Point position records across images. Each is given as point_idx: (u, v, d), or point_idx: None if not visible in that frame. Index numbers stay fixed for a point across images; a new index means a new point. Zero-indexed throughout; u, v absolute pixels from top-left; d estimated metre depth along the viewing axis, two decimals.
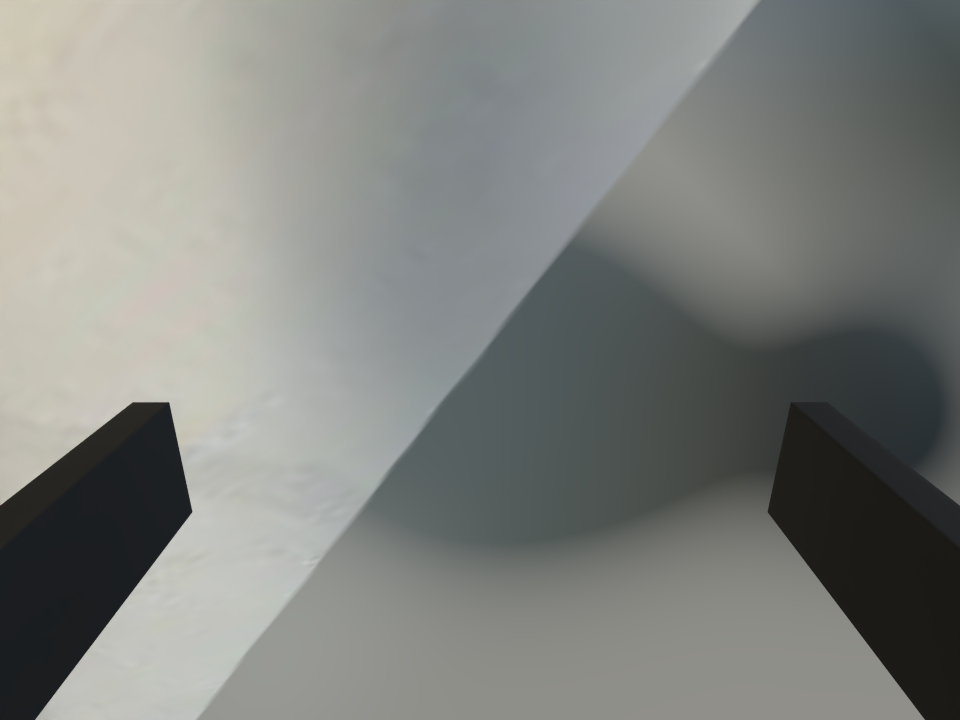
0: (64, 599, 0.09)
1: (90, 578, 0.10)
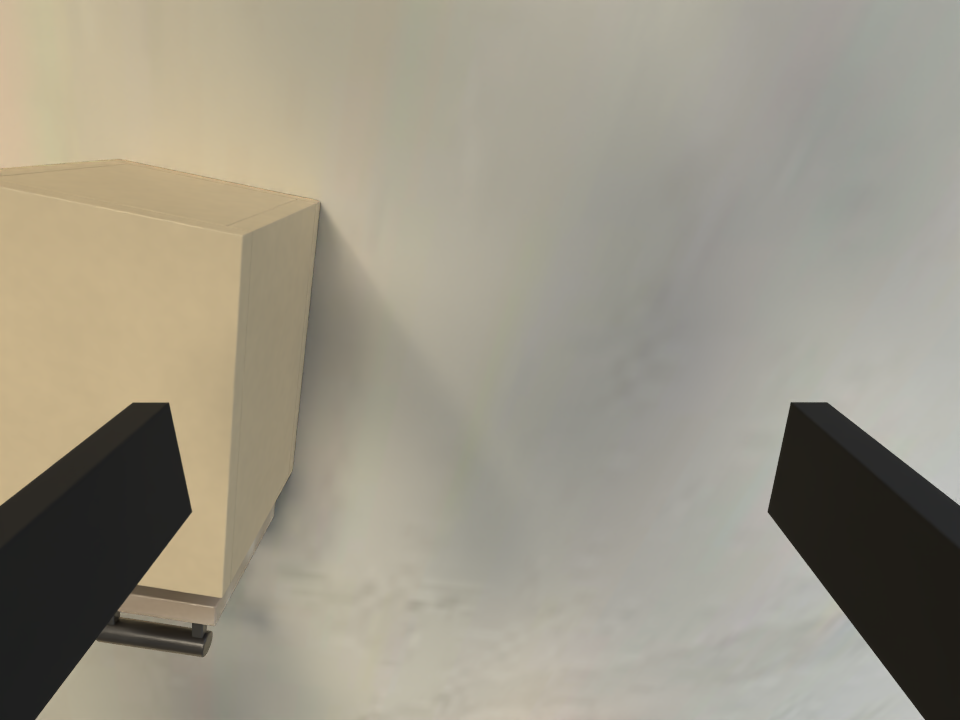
0: (64, 598, 0.09)
1: (90, 578, 0.10)
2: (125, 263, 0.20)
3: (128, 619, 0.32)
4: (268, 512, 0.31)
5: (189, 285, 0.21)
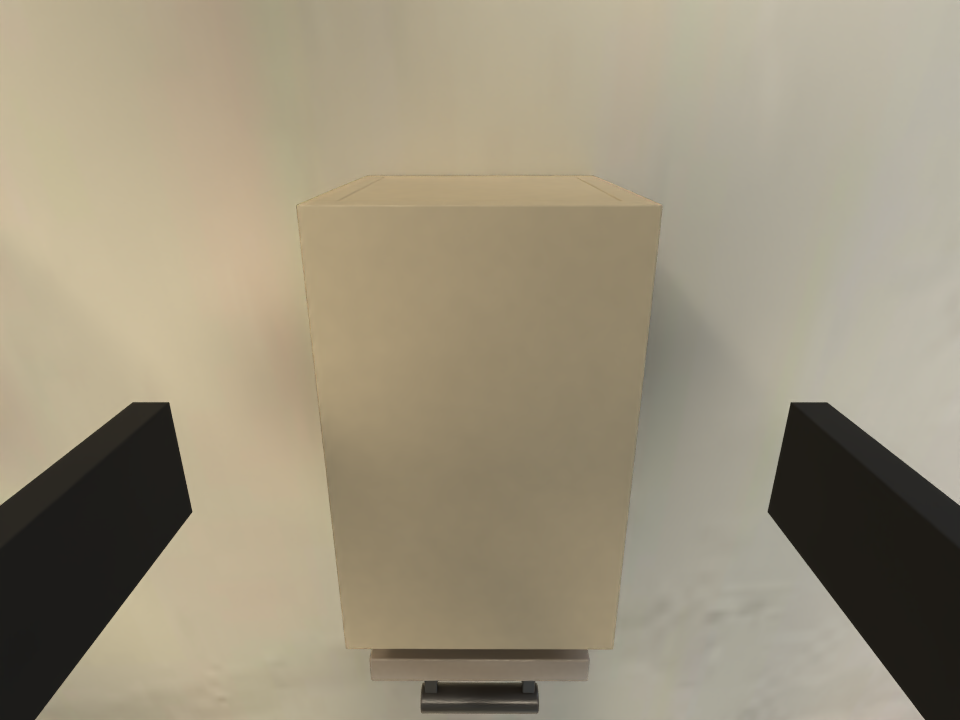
0: (65, 599, 0.09)
1: (90, 578, 0.10)
2: (516, 269, 0.17)
3: (446, 683, 0.29)
4: None
5: (593, 281, 0.17)
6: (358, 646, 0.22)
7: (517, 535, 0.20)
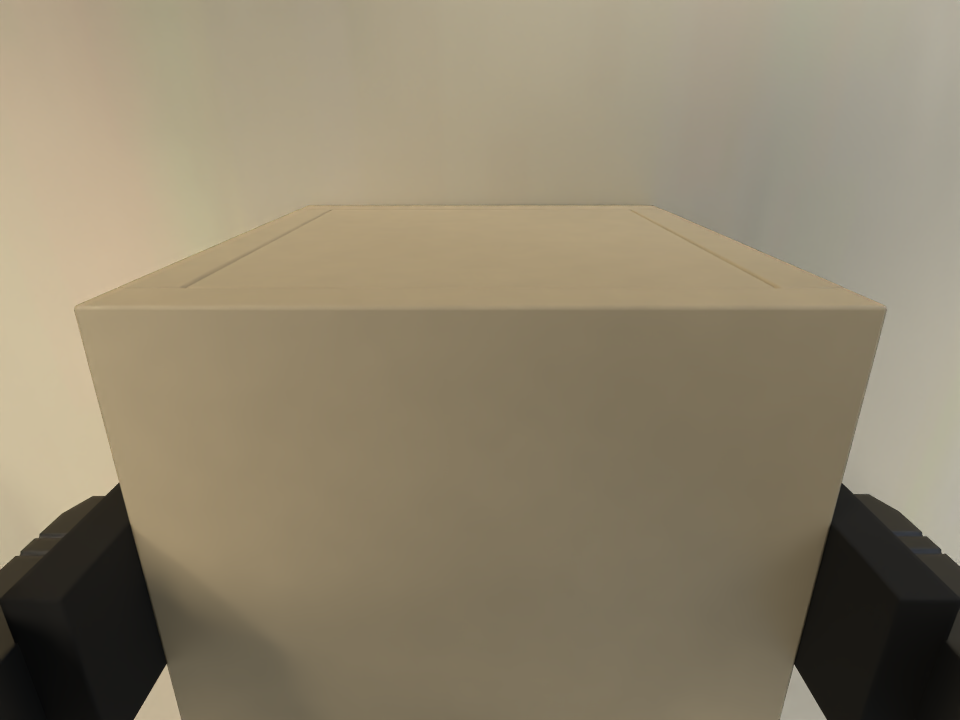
0: None
1: None
2: (559, 435, 0.08)
3: None
4: None
5: (720, 458, 0.08)
6: None
7: None
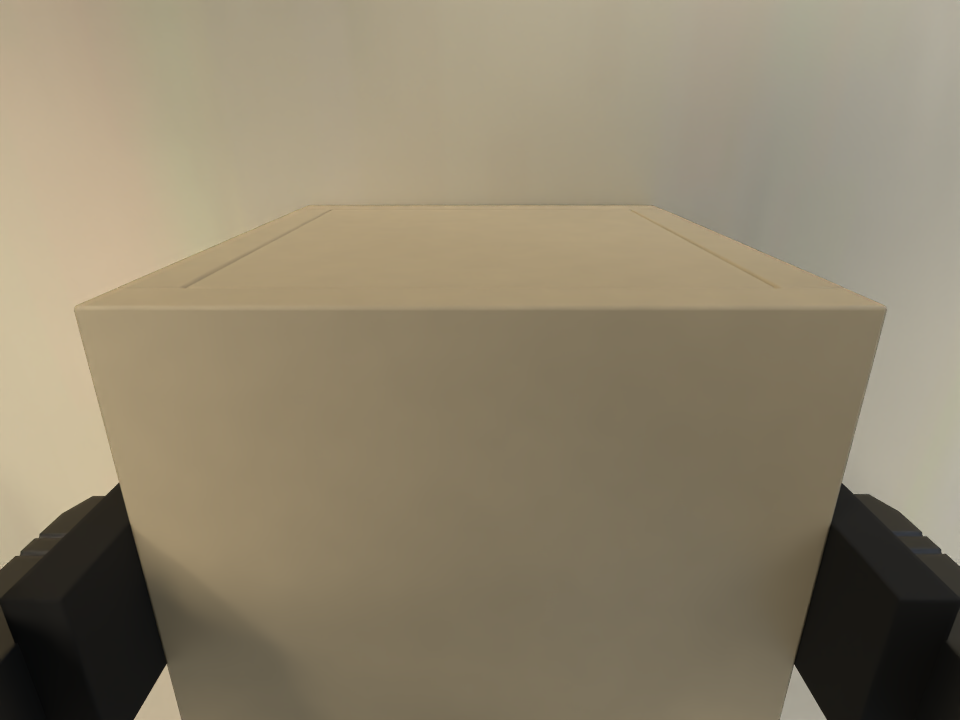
0: None
1: None
2: (558, 435, 0.08)
3: None
4: None
5: (719, 458, 0.08)
6: None
7: None
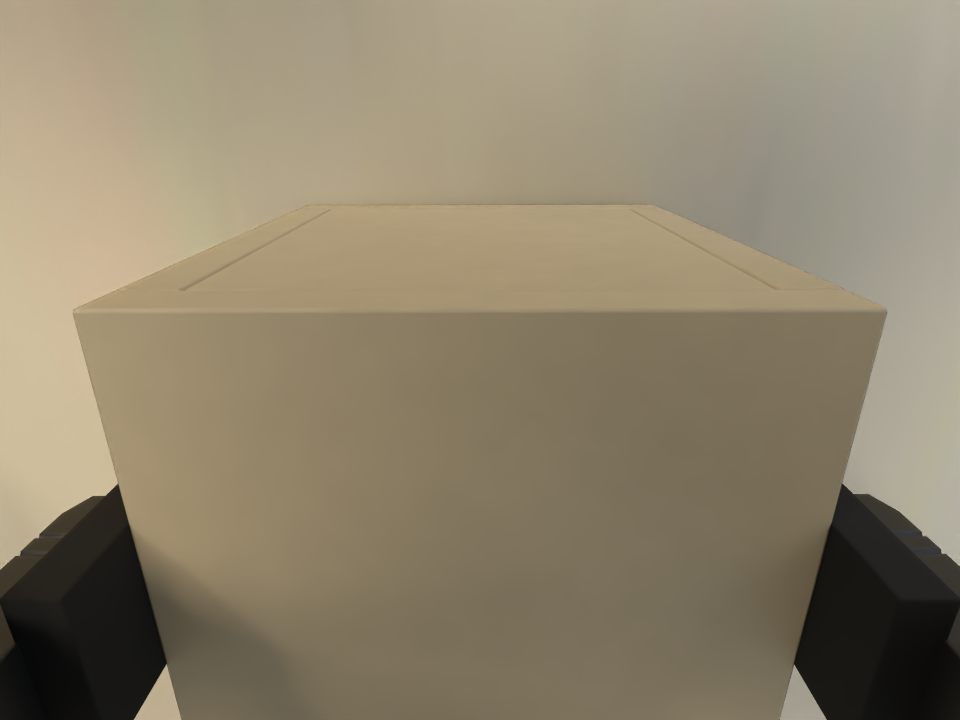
0: None
1: None
2: (559, 438, 0.08)
3: None
4: None
5: (719, 459, 0.08)
6: None
7: None
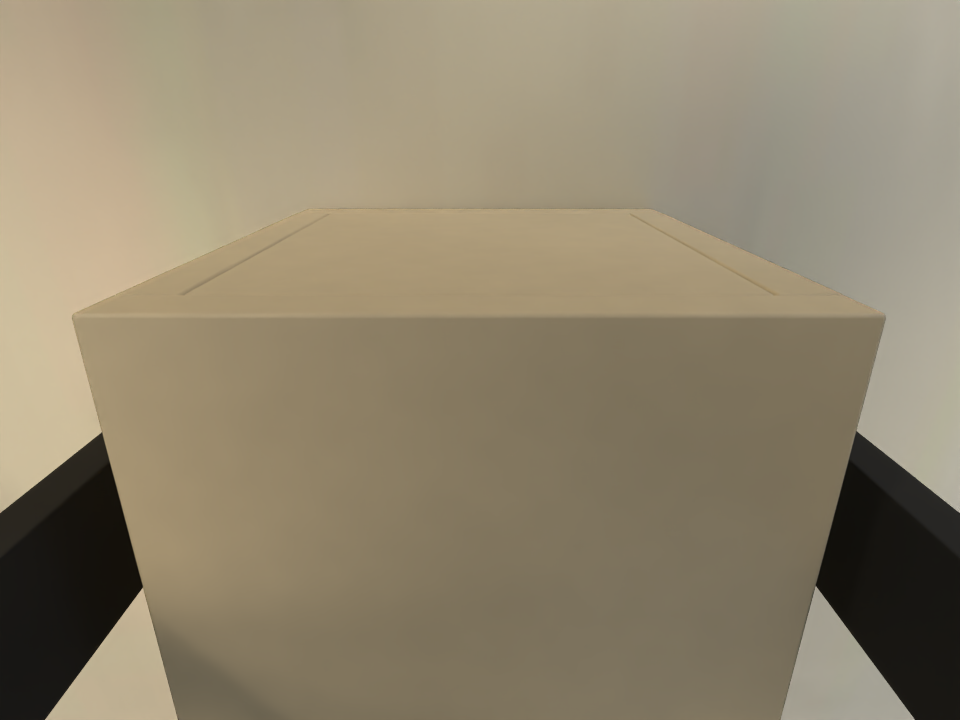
0: (79, 594, 0.09)
1: (103, 573, 0.10)
2: (558, 443, 0.08)
3: None
4: None
5: (719, 465, 0.08)
6: None
7: None
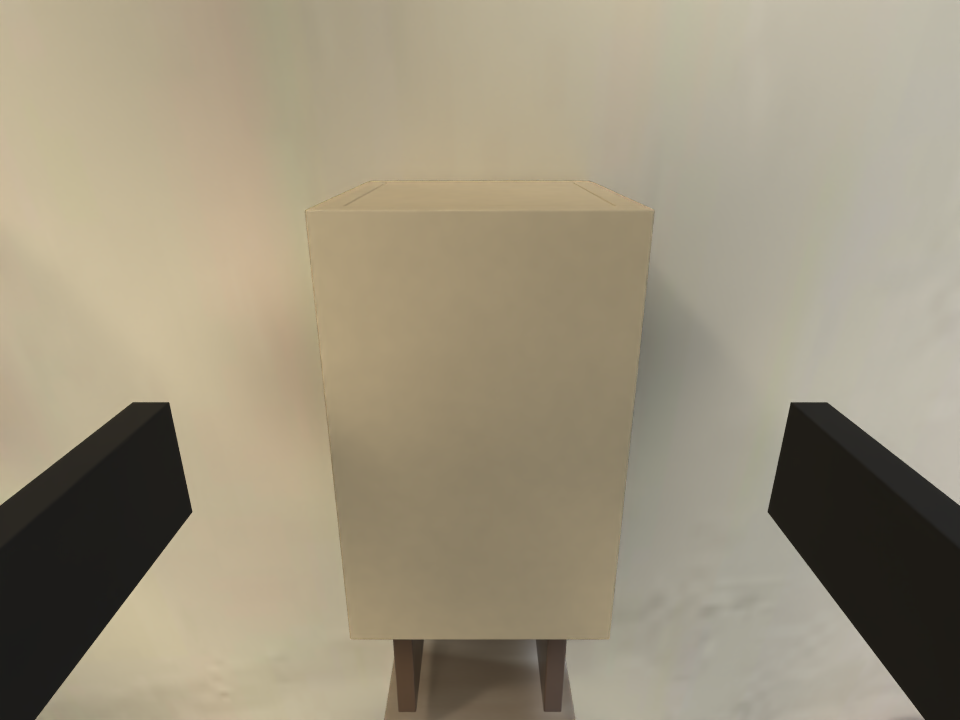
0: (65, 599, 0.09)
1: (90, 578, 0.10)
2: (515, 271, 0.17)
3: None
4: None
5: (588, 282, 0.18)
6: (362, 637, 0.23)
7: (516, 528, 0.21)
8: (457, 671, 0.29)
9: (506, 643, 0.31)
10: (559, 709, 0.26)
